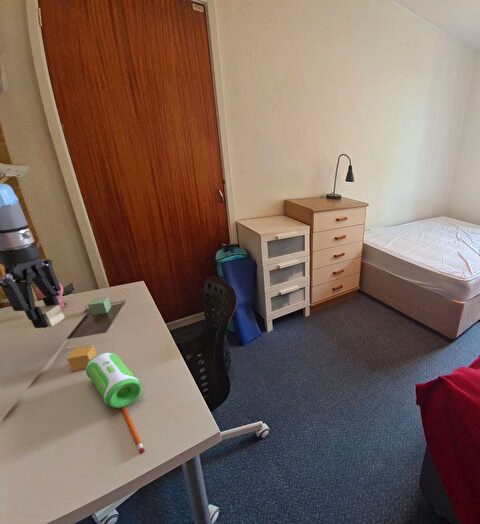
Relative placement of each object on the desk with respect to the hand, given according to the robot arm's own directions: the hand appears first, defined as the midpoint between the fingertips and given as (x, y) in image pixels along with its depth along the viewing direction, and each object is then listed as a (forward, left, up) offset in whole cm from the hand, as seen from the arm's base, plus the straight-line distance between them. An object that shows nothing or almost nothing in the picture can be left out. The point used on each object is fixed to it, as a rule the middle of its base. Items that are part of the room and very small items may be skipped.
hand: (49, 321), depth 81 cm
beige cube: (0, 0, 0) cm, 0 cm away
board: (+3, +16, -12) cm, 20 cm away
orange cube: (+8, -8, -12) cm, 16 cm away
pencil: (+25, -35, -12) cm, 45 cm away
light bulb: (-13, +30, -12) cm, 35 cm away
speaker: (+19, -22, -12) cm, 31 cm away
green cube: (+3, +22, -11) cm, 25 cm away
